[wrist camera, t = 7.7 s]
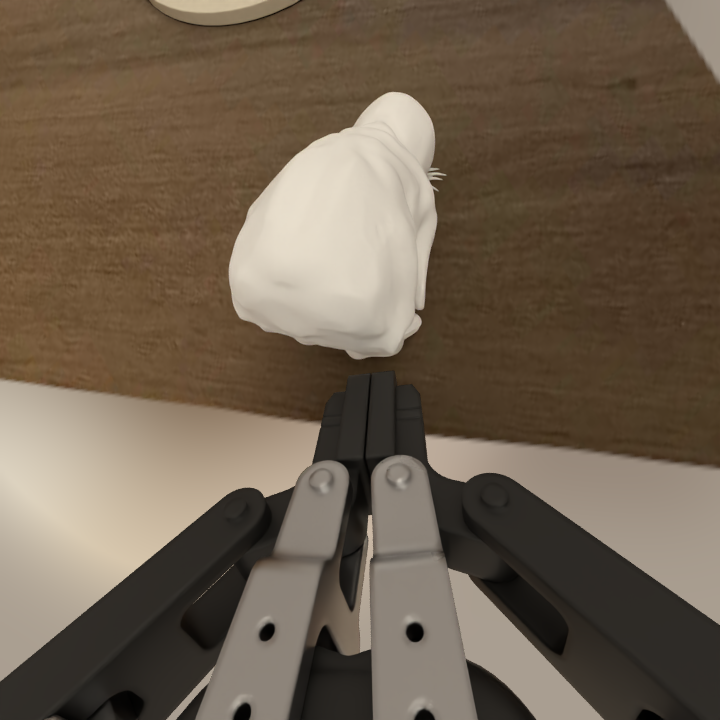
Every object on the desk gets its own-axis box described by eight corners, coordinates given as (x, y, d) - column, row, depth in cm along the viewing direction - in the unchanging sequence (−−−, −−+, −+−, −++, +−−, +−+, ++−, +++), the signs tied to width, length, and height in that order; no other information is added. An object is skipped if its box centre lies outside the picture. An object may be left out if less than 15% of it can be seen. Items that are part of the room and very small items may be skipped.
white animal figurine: (156, 277, 10) (304, -38, 12) (277, 365, 18) (350, 163, 20) (391, 329, 8) (498, -40, 11) (405, 399, 16) (465, 177, 19)
